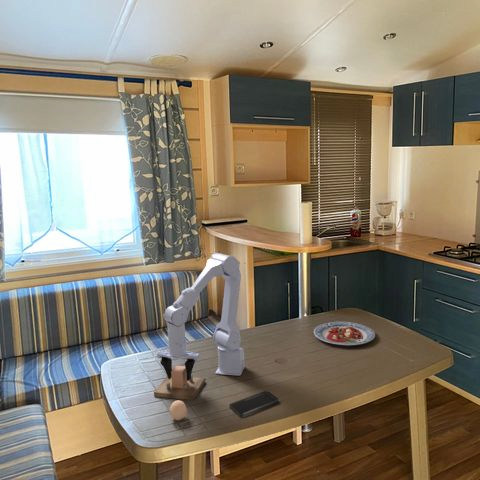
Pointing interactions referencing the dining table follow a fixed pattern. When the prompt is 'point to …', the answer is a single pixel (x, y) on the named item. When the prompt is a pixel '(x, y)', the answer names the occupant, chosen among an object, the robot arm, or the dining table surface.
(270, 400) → the phone
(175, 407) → the egg
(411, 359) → the dining table surface
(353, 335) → the ceramic plate
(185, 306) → the robot arm
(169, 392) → the peg stand
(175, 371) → the pink block
